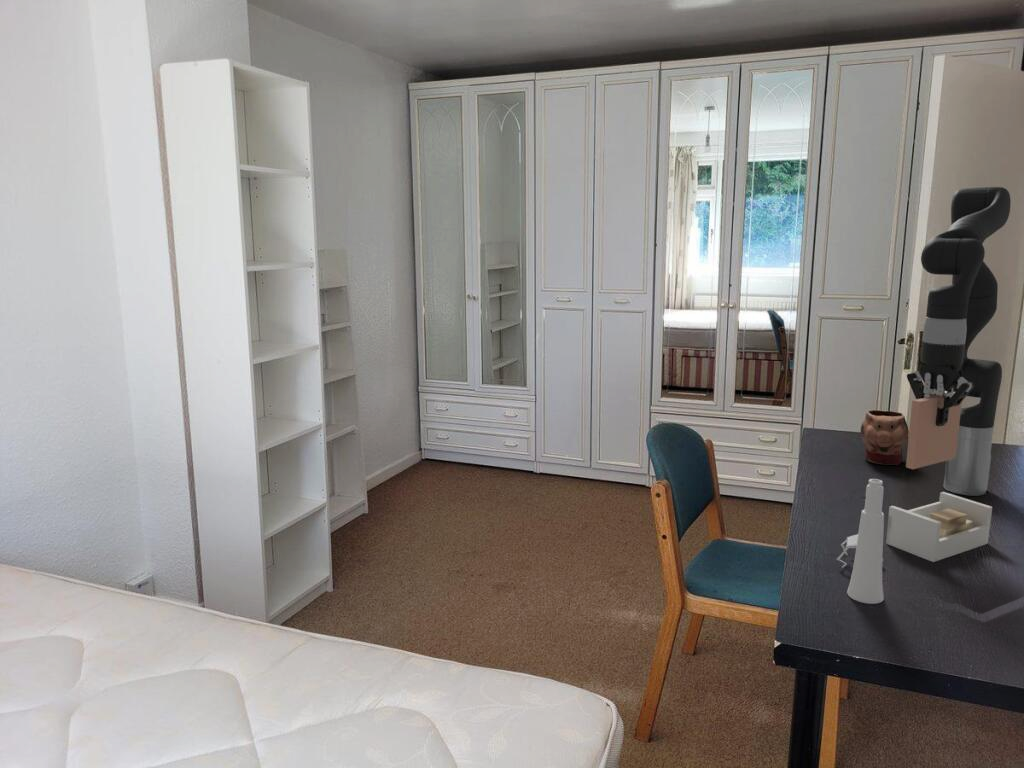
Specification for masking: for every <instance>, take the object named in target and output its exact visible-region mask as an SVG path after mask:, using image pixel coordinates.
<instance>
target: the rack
mask: <svg viewBox="0 0 1024 768" xmlns="http://www.w3.org/2000/svg"><path fill="white" fill-rule="evenodd" d="M938 500H939V501H937V502H933V503H929V504H926V505H922V506H919V507H914V508H911V509H908V510H907V509H903V508H901V507H898V506H895V505H891V506H889V507H888V508H889V509H888V517H887V518H888V519H887V530H886V536H885V538H886V539H885V544H886V545H889V546H892V547H894V548H896V549H899V550H902V551H905V552H907V553H910V554H912V555H915V556H917V557H919V558H922V559H925V560H927V561H929V562H932V563H934V562H938V561H941V560H943V559H946V558H950V557H952V556H955V555H958V554H961V553H964V552H967V551H970V550H973V549H976V548H979V547H982V546H985V545H987V544H988V543H989V537H990V528H991V523H992V522H991V520H992V514H993V512H992V511H993V506H991V505H987V504H984V503H981V502H978V501H974V500H972V499H968V498H965V497H962V496H959V495H955V494H953V493H949V492H945V491H942V492H940V493H939V499H938ZM947 508H949V509H952V510H955V511H958V512H961V513H964V514H967V518H966V519H967V520H970V521H973V527H972V529H969V530H966V531H962V532H959V533H956V534H953V535H950V536H947V537H944V538H941V539H940V531H941V522H939V521H936V520H933V519H930V518H929V516H930V513H933V512H937V511H940V510H944V509H947Z"/></svg>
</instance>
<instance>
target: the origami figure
mask: <svg viewBox="0 0 1024 768" xmlns="http://www.w3.org/2000/svg"><path fill="white" fill-rule="evenodd" d="M857 540H858V533H856V534H853V535H850V536H846V538H845V540H844V541H843V542H842V543H841V544H840V547H841V549H842V550H843V551H842V552H841V554H840V555H838V557H837V558H836V560H837V561H839V562H841V563H843V565H842V566H841V568H845V567H846V566H847V565H848V562H845V561H847V559H848V558H847V557H845V558H844V561H843V560H842V559H841V558H842V557H843V556H844V555H846V556H848V552H847V551H848V549H856V547H857ZM845 544H846V545H845ZM882 562H884V558H883V557H882Z"/></svg>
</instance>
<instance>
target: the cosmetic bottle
mask: <svg viewBox="0 0 1024 768" xmlns="http://www.w3.org/2000/svg"><path fill="white" fill-rule="evenodd" d="M865 488H866V489H865V490H866V491H865V497H866V498H865V497H864V499H865V500H864V501H865V503H864V509H862V510H861V514H860V520H859V527H858V532H857V534H858V540H857V547H856V548H855V555H854V560H853V566H852V570H851V571H852V572H851V576H850V582H849V584H848V588H847V591H846V594H847V595H848V597H849V598H850V599H852V600H854V601H855V602H859V603H862V604H863V603H864V604H869V605H875V604H880V603H882V602H883V601H884V600H885V599H884V598H885V597H884V587H883V561H882V558H883V552H884V551H883V550H884V549H883V548H884V529H885V514H884V512H883V501H884V492H885V491H884V489H885V488H884V486H883V480H882V479H877V478H869V479H868V484H867V485H866V487H865Z"/></svg>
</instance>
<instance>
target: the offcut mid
mask: <svg viewBox="0 0 1024 768" xmlns="http://www.w3.org/2000/svg"><path fill="white" fill-rule="evenodd" d="M972 527H973V521H970V520H967V519H966V524H963V525H960V526H957V527H954V528H951V529H945V528H942V527H941V531H940V539H941V538H944V537H947V536H950V535H953V534H956V533H959V532H962V531H966V530H969V529H972Z"/></svg>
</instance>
